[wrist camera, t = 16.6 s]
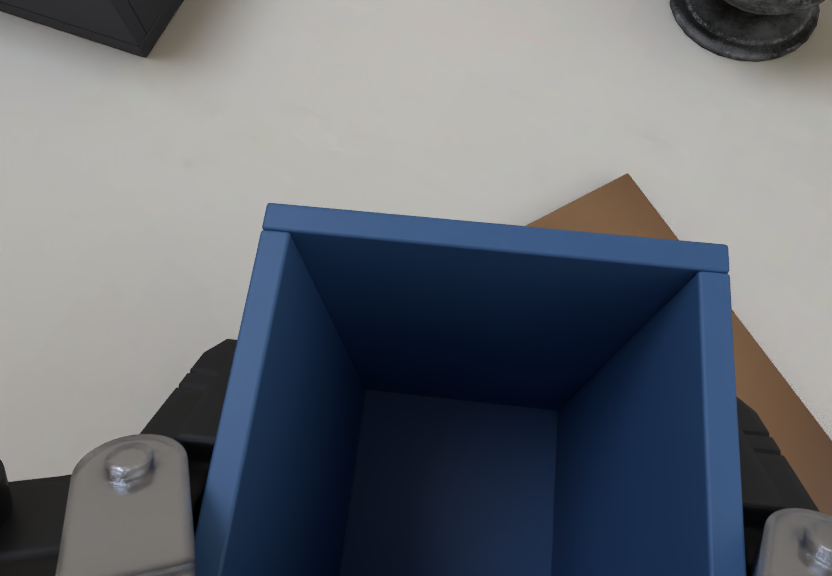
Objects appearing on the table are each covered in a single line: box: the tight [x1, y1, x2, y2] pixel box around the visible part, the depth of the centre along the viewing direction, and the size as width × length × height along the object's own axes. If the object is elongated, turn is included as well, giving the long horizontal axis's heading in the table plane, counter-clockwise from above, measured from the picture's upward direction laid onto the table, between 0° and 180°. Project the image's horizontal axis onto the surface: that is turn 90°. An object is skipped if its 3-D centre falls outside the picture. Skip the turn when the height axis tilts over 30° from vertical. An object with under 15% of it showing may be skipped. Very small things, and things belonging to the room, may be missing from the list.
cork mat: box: [526, 174, 832, 516], centre depth 18 cm, size 16×16×1 cm
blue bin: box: [195, 203, 746, 576], centre depth 12 cm, size 6×6×10 cm
